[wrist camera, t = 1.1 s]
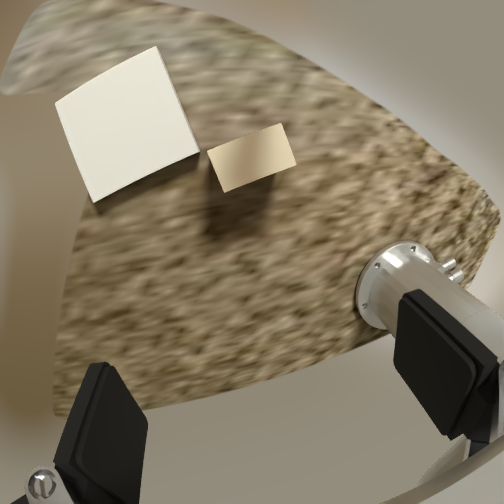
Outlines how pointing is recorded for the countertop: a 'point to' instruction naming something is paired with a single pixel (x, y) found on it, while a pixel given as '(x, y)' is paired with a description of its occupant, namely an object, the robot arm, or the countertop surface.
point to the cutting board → (126, 124)
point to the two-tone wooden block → (252, 157)
